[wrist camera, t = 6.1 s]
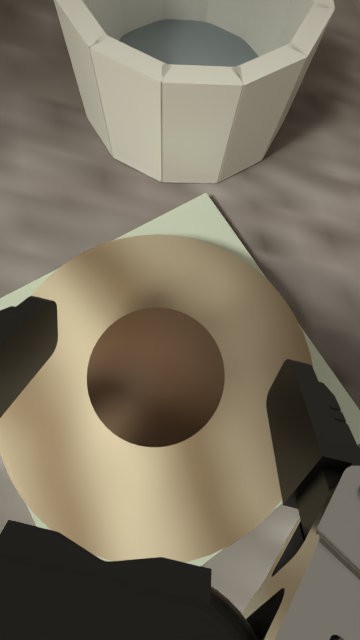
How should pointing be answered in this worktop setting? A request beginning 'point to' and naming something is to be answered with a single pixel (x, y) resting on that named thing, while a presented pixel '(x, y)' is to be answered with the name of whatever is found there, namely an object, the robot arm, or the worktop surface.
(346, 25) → the worktop surface
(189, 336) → the lid
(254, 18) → the bowl
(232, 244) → the mat
